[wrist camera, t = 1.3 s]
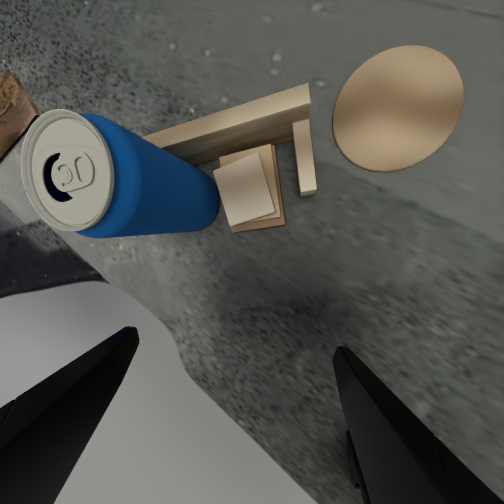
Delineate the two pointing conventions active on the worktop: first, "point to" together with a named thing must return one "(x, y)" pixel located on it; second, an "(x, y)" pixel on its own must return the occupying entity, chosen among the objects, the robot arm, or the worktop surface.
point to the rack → (247, 132)
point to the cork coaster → (397, 108)
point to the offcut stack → (251, 189)
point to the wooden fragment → (13, 110)
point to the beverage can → (110, 179)
